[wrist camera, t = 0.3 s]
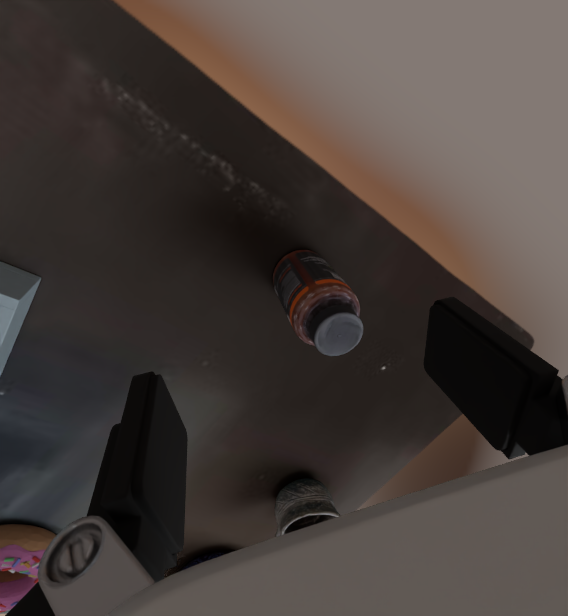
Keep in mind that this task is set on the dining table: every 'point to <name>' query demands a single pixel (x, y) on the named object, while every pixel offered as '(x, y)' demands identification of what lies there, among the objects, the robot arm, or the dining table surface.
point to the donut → (20, 560)
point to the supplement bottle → (318, 303)
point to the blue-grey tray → (13, 305)
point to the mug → (303, 506)
